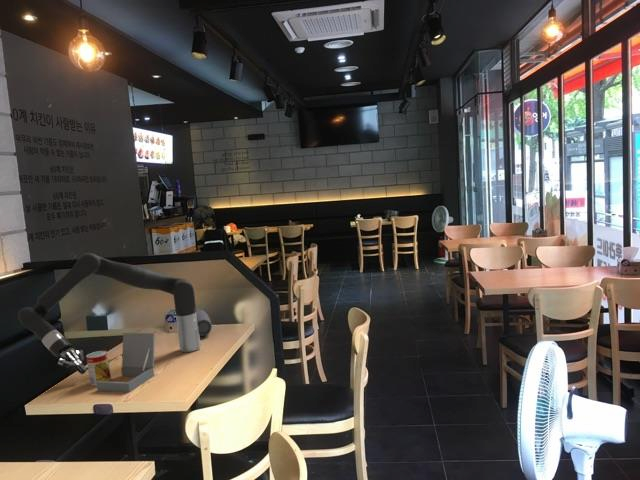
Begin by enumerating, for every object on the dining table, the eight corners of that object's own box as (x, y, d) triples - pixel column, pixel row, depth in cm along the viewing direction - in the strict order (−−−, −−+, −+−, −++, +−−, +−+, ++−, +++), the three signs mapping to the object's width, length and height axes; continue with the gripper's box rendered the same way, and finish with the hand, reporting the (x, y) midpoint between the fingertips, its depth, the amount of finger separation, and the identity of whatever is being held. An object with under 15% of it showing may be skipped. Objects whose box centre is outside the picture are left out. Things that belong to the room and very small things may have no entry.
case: (97, 390, 207) (91, 348, 205) (129, 371, 226) (124, 332, 223) (129, 392, 202) (123, 349, 200) (160, 372, 221) (154, 332, 219)
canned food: (115, 379, 217) (111, 351, 216) (99, 387, 210) (95, 358, 209) (102, 377, 221) (98, 350, 220) (86, 384, 214) (82, 356, 213)
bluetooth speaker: (191, 328, 284) (189, 310, 283) (209, 325, 287) (207, 307, 286) (195, 339, 263) (192, 320, 262) (213, 336, 266) (211, 317, 264)
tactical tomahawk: (93, 373, 230) (93, 371, 230) (85, 370, 234) (84, 368, 233) (134, 356, 247) (134, 354, 247) (125, 353, 251) (125, 351, 250)
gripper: (48, 342, 212) (77, 372, 210) (72, 332, 225) (100, 360, 223) (39, 354, 215) (68, 384, 212) (64, 344, 227) (91, 372, 225)
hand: (84, 372), depth 218 cm, fingers closed
